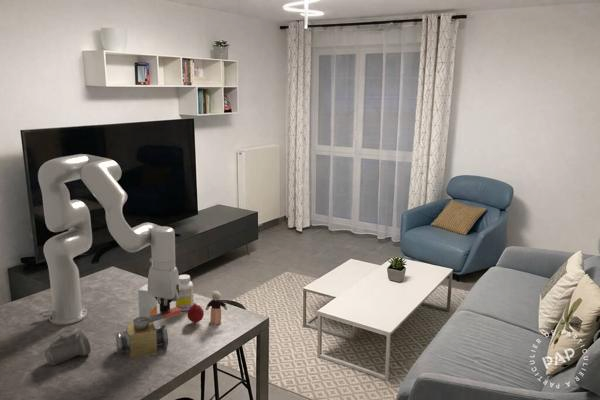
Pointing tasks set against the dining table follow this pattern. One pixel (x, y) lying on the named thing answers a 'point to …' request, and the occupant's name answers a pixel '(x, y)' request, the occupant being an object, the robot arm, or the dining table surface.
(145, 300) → the skincare box
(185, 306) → the supplement bottle
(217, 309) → the grandmother figurine
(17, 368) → the dining table surface
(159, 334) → the valve
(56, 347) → the pipe fitting
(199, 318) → the onion
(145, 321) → the lever
